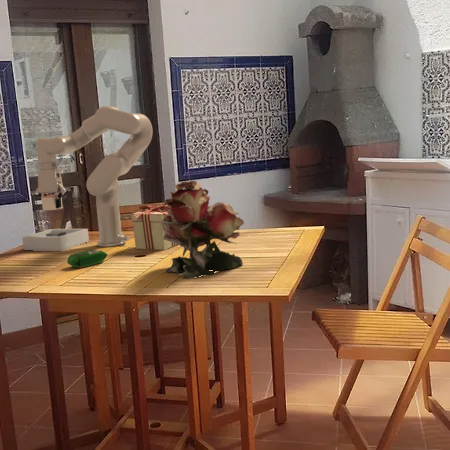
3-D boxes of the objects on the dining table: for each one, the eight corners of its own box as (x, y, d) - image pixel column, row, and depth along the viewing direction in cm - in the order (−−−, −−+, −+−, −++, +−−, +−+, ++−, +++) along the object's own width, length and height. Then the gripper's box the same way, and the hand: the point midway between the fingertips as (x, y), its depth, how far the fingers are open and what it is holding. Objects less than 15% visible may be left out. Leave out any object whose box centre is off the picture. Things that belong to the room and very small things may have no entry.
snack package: (111, 261, 241) (110, 248, 240) (75, 270, 230) (74, 256, 229) (100, 260, 246) (99, 246, 245) (65, 268, 234) (63, 254, 234)
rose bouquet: (255, 262, 221) (249, 175, 217) (193, 280, 201) (186, 185, 196) (203, 255, 239) (197, 175, 235) (142, 272, 219) (134, 184, 214)
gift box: (129, 251, 258) (125, 209, 256) (151, 242, 275) (148, 203, 272) (167, 251, 252) (163, 208, 249) (187, 242, 268) (184, 202, 266)
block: (66, 242, 284) (65, 231, 283) (58, 245, 279) (57, 234, 278) (55, 242, 287) (54, 231, 286) (47, 245, 281) (45, 234, 280)
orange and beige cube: (62, 208, 282) (61, 194, 281) (54, 210, 276) (52, 196, 275) (51, 208, 284) (49, 194, 283) (42, 210, 279) (41, 196, 278)
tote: (89, 241, 288) (87, 228, 287) (62, 251, 270) (60, 237, 269) (52, 241, 296) (51, 229, 295) (23, 250, 278) (22, 237, 277)
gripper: (69, 165, 278) (74, 206, 280) (37, 166, 284) (42, 207, 287) (59, 166, 271) (63, 208, 273) (26, 168, 277) (31, 209, 280)
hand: (52, 207), depth 280 cm, fingers closed on orange and beige cube, 6 cm apart
